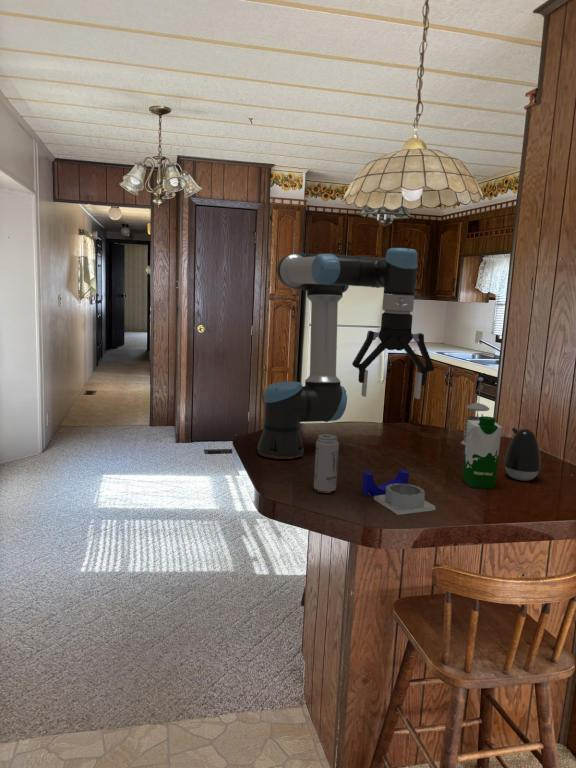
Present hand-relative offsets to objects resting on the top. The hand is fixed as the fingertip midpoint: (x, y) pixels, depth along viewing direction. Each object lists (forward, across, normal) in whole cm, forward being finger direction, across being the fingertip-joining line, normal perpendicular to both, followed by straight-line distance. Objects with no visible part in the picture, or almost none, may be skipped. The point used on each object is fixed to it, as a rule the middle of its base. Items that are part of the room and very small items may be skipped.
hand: (390, 397), depth 145 cm
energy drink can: (+27, -15, +4) cm, 31 cm away
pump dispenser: (+27, +46, +22) cm, 58 cm away
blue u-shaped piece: (+28, +1, +5) cm, 28 cm away
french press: (+28, +46, +60) cm, 81 cm away
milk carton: (+27, +31, +14) cm, 44 cm away
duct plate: (+27, +5, -4) cm, 28 cm away
